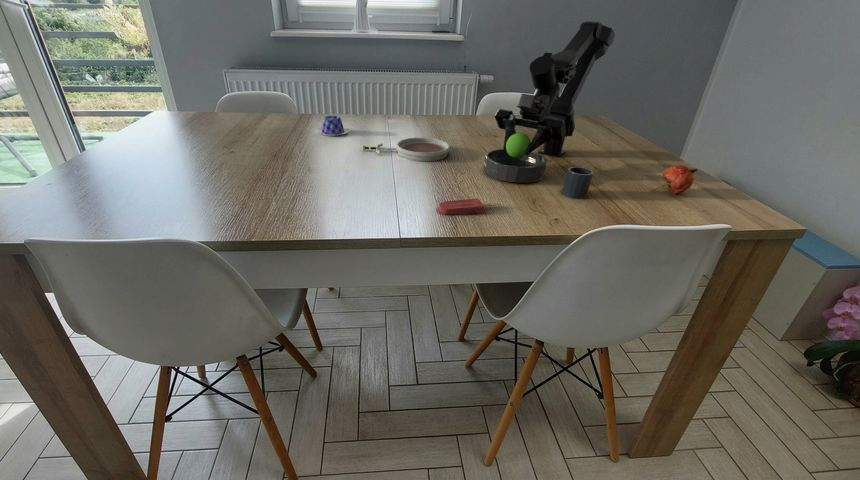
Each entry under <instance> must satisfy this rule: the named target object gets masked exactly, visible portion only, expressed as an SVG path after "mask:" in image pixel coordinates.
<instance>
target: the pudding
mask: <svg viewBox="0 0 860 480" xmlns="http://www.w3.org/2000/svg"><path fill="white" fill-rule="evenodd" d="M350 131H351V129H350V128H348V127H345V126H344V124H343V121H342V118H341V117H340V116H339V115H327V116H325V117H324V118H323V120H322V126H321V127H319V128H316V130H315V132H316V133H317V134H320V135H323V136H324V135H325V136H330V137H333V136H336V137H337V136H341V135H346V134H347V133H350Z"/></svg>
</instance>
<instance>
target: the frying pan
mask: <svg viewBox="0 0 860 480" xmlns="http://www.w3.org/2000/svg"><path fill="white" fill-rule="evenodd" d="M360 149H361V151H363V152H364V151H366V150H369V151H372V150H373V151H375V152H376V153H377V154H379V155H381V151H397V152H398V153H397V154H398V155H399V156H400V157H401V158H404V159H406V160H411V161H417V162H435V161H440V160H443V159H445V158H446V157H447V156H448V153H449V152H450V151H451V146H450V144H449V143H448V142H446V141H445V140H441V139H439V138H433V137H420V136H419V137H408V138H404V139H400V140H399V141H397V143H396V145H395V147H388V146H387V147H386V146H385V147H384V144H383V143H380V144H377V145H376V146H366V145H364V144H362V145H361V146H360Z"/></svg>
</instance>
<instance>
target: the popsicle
mask: <svg viewBox="0 0 860 480" xmlns="http://www.w3.org/2000/svg"><path fill="white" fill-rule="evenodd" d="M501 205H502V202H489V203H483V202H482V201H481V200H480V199H479V198H478V197H476V198H474V197H473V198H466V199H456V200H447V201H446V200H445V201H441V202H439V204H438V209H437V210H438V212H439V213H441V214H442V215H449V216H450V215H451V216H452V215H468V214H483V213H484V212H485V207H491V206H493V207H494V206H501Z"/></svg>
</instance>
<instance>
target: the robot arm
mask: <svg viewBox="0 0 860 480" xmlns="http://www.w3.org/2000/svg"><path fill="white" fill-rule="evenodd" d="M615 36H616V32H615V31H614V29H613V28H612V27H610V26H607V25H604V24H603V23H602V22H600V21H588V20H587V21H582V22H581V24H580V26H579V29H578V31H577V32H576V33H575V34H574V36H573V37H572V38H571V39H570V40H569V42H568V43H567V45H565V47H564V49H562V50H561V51H559V52H557V53H554V54H553V52H546V51H545V52H544V53H543V54H542V55H541V56H538V57H536V58H534V60H533V61H531V62H530V64H529V68H528V69H529V72H530V77H531V82H532V86H533V87H534V89H535V91H534V93H533V94H527V93H521V94H520V96H519V99H518V102H517V105H516V107H517V108H519V115H520V116H521V117H519V116H516V115H514V112H513V110H509V109H505V108H504V109H503V108H500V109H498V110H496V112H495V114H494V119H495V122H496V124H497V126H498V128H499V129H500V130H504V131H505V132H504V133H505V134H504V141H503V146H502V149H504V150H506V143H507V140H508V139H509V138H510V137H511V136H512V135H513V134H516V133H517V131H516V127H517V126H519V127H522V128H526V129H527V128H528V129H532V130H536V132H535V134H534V136H533V138H532V140H530V141H531V143H530V144H529V146H528V148H527V150H526V152H525V154H526V155H528V154H530V153H531V152H534V151H535V150H537V149H539V147H541V146H542V148H541V149H539V150H538V153H537V154H542V155H546V156H547V155H548V156H552V157H555V158H557V157H560V156H562V155H563V154H565V152H566V150H564V149H563V147H564V145H565V144H564V143H565V140H566V138H567V137H572V136H573V135H574V132H575V128H576V124H575V118H574V117H575V109H574V105H575V103H576V100H577V98H578V97H579V94H580V92H582V88H583V86H584V85H585V83H586V81H587V78H588V77H589V75H590V72H591V71H592V69H593V67H594V65H595V62H596V61H597V60H599V59H600V58H601V57H603V56H605V55H606V53H607V51H608V50H609V48H610V47H611V46H612V45H613V43H614V40H615ZM560 84H563V85H564V87H563V89H562V91H561V87H560ZM560 92H561V93H560Z"/></svg>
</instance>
